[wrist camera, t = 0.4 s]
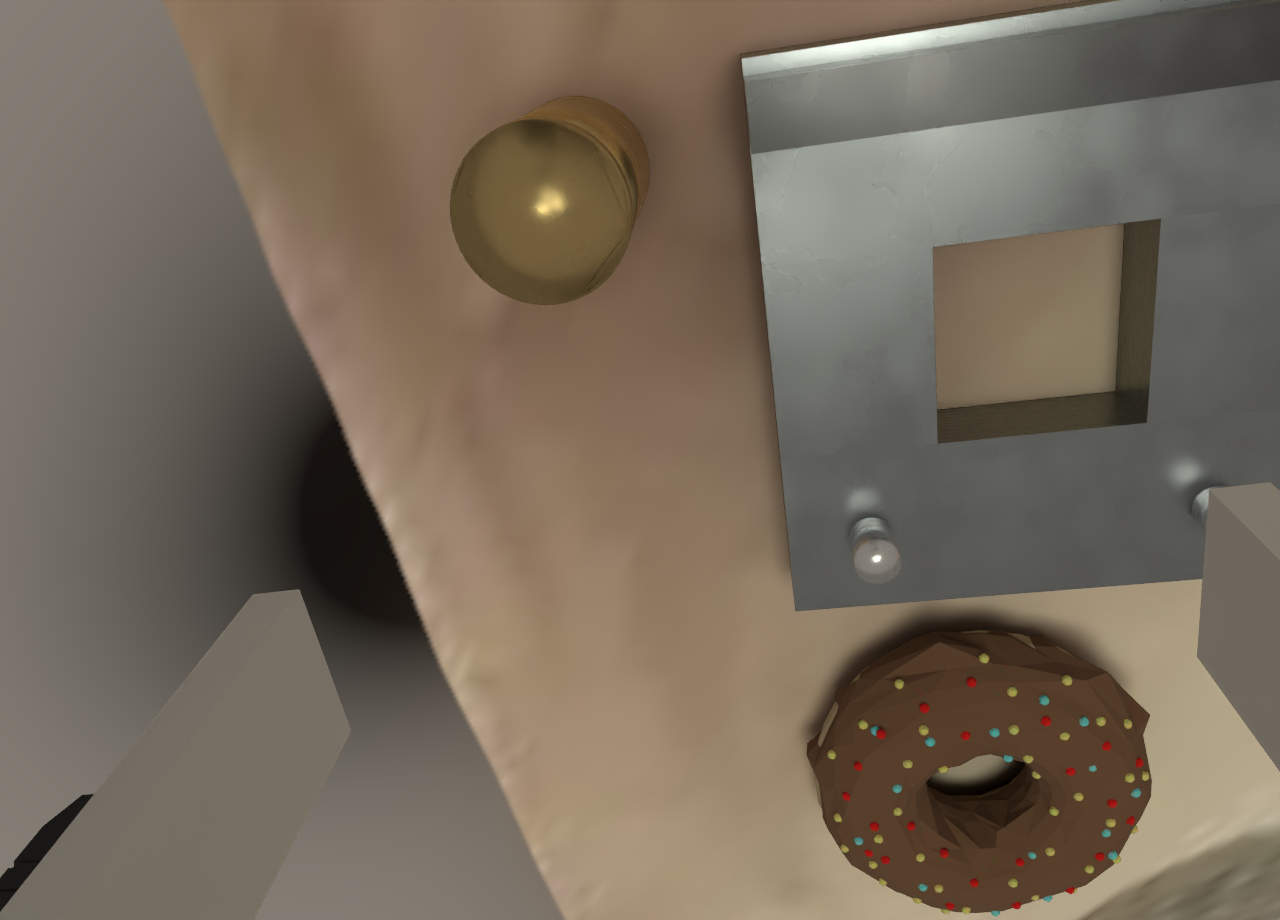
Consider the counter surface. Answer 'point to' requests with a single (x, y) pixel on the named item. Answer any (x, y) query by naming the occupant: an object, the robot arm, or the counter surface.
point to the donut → (974, 726)
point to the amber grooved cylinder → (551, 200)
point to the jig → (1001, 208)
